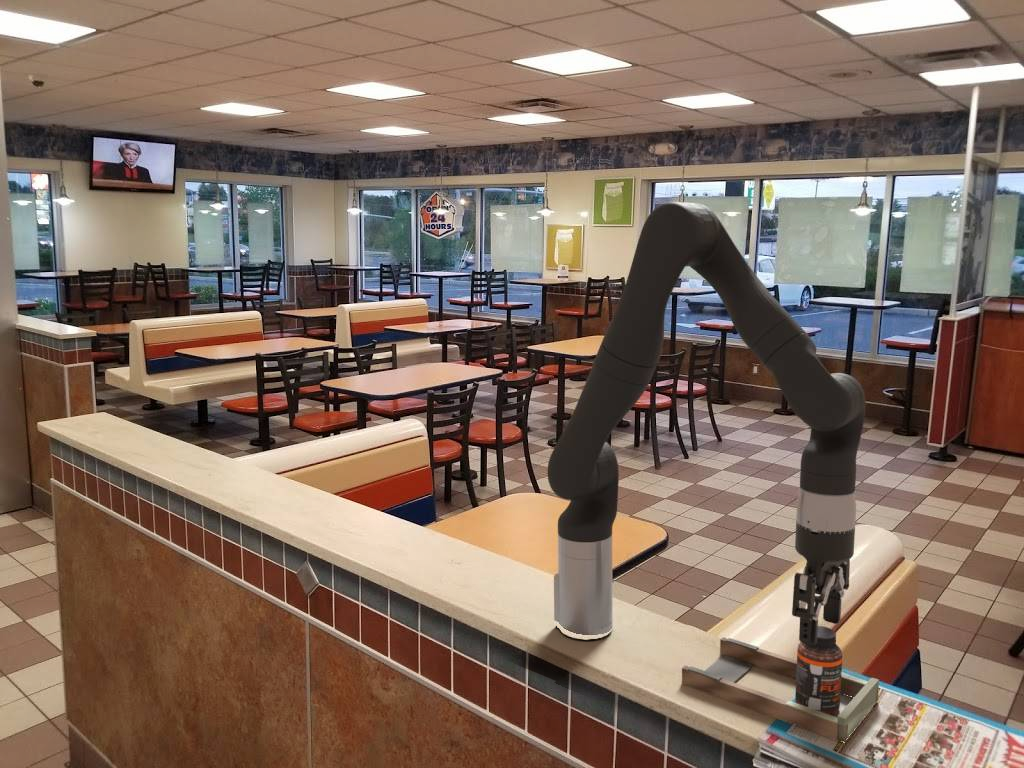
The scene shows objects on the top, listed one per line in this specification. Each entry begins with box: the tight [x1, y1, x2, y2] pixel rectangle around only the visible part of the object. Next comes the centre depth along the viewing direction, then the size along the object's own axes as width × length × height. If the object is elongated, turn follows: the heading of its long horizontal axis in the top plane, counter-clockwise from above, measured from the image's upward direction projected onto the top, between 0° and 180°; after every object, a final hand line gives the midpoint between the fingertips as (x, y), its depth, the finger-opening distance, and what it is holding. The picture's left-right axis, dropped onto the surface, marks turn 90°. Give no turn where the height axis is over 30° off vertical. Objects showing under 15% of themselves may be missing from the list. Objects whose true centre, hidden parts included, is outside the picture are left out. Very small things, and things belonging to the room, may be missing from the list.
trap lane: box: [681, 637, 880, 742], centre depth 118 cm, size 24×13×4 cm, turn 48°
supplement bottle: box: [794, 625, 843, 716], centre depth 114 cm, size 6×6×11 cm
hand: (820, 632), depth 113 cm, fingers open, 8 cm apart
